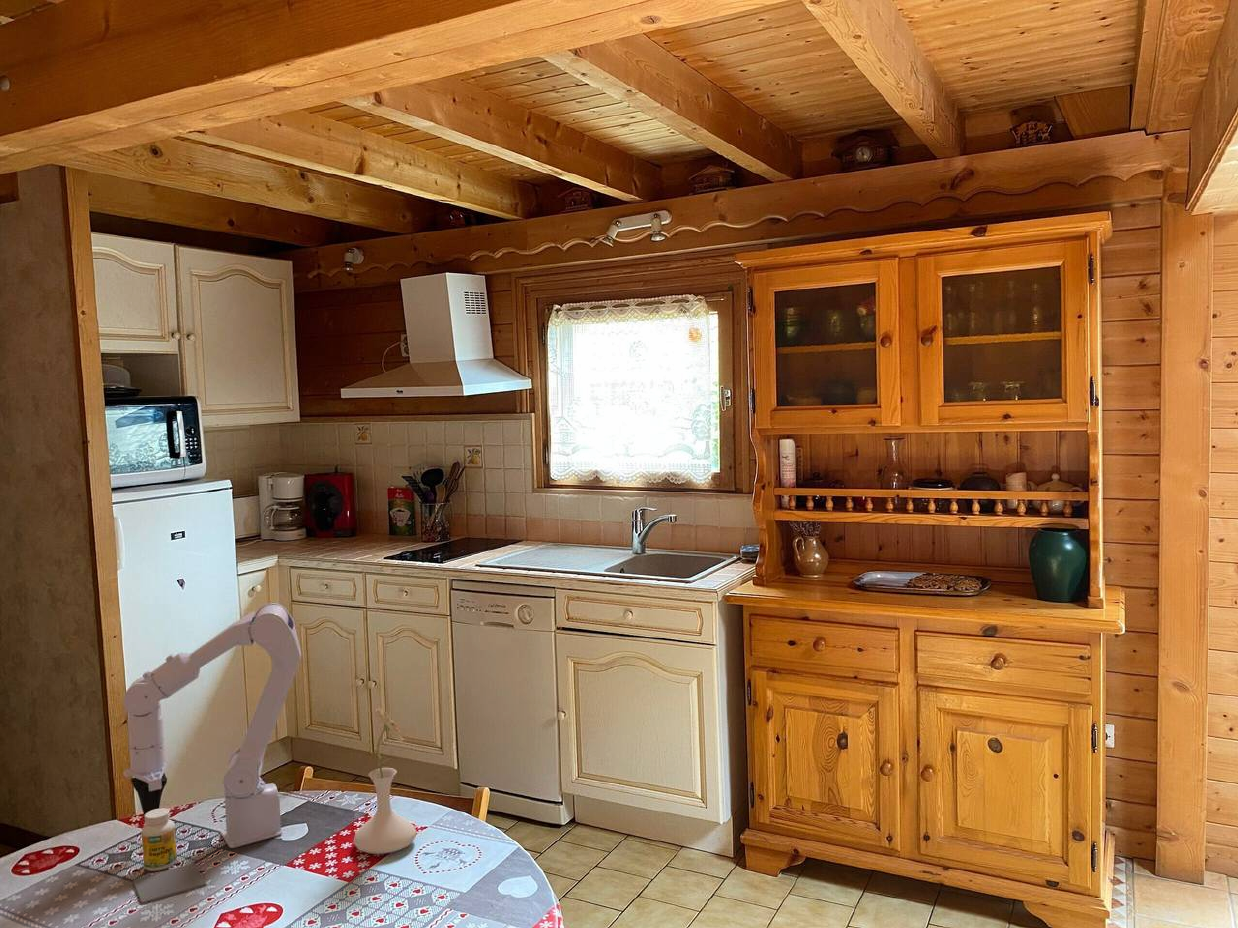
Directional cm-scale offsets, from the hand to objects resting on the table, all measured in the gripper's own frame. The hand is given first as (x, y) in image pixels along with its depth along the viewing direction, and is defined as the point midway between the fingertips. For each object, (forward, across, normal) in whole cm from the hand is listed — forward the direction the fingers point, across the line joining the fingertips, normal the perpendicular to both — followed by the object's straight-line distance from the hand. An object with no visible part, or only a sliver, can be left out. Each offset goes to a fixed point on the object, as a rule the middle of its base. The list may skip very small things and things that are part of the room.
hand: (151, 815), depth 178 cm
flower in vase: (+7, +24, +36) cm, 44 cm away
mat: (+6, +16, 0) cm, 17 cm away
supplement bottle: (+7, +7, 0) cm, 10 cm away
